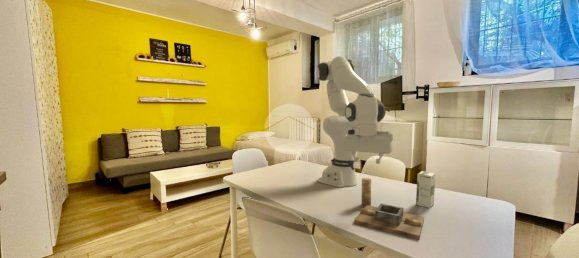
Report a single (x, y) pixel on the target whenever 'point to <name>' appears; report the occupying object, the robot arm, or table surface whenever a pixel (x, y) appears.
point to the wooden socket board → (391, 220)
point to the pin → (366, 192)
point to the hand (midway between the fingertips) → (367, 162)
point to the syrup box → (425, 189)
